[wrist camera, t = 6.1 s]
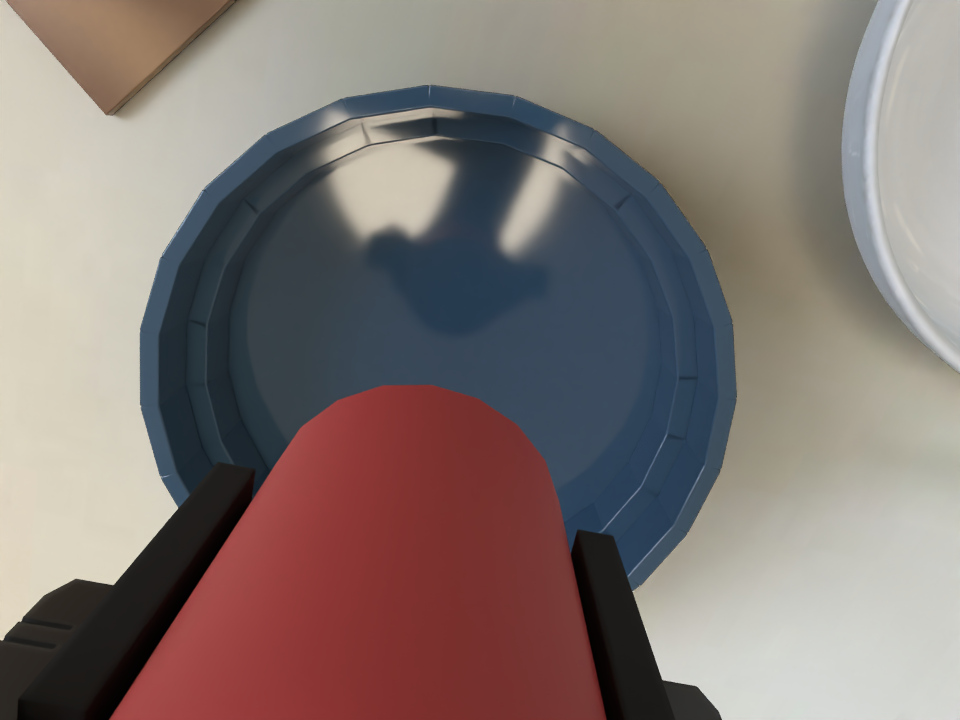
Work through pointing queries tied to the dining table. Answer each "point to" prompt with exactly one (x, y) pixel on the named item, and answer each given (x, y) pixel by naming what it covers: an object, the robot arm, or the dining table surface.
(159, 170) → the dining table surface
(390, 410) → the beer can
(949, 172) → the serving bowl
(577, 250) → the blue bowl
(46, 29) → the wooden cutting board
